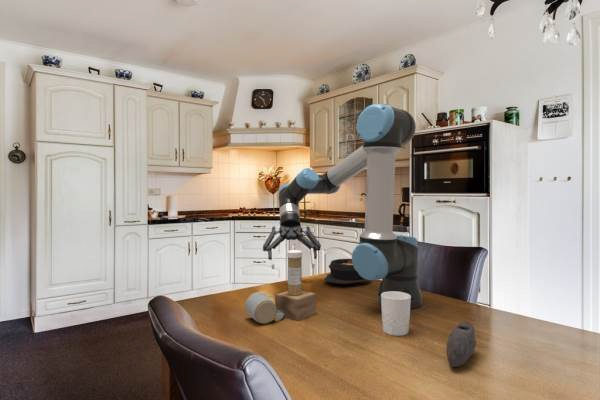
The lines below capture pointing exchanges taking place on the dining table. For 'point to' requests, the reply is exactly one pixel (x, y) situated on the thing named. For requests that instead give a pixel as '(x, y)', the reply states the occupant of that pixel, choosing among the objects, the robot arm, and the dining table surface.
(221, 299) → the dining table surface
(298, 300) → the tan block
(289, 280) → the sprinkles bottle
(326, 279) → the black fedora hat
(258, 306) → the ceramic mug
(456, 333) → the perforated stone tool
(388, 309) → the white cup
